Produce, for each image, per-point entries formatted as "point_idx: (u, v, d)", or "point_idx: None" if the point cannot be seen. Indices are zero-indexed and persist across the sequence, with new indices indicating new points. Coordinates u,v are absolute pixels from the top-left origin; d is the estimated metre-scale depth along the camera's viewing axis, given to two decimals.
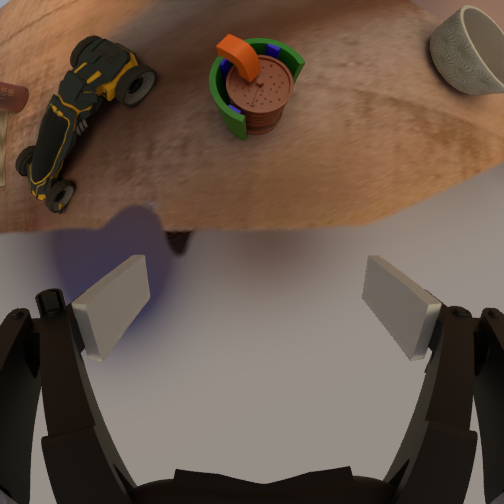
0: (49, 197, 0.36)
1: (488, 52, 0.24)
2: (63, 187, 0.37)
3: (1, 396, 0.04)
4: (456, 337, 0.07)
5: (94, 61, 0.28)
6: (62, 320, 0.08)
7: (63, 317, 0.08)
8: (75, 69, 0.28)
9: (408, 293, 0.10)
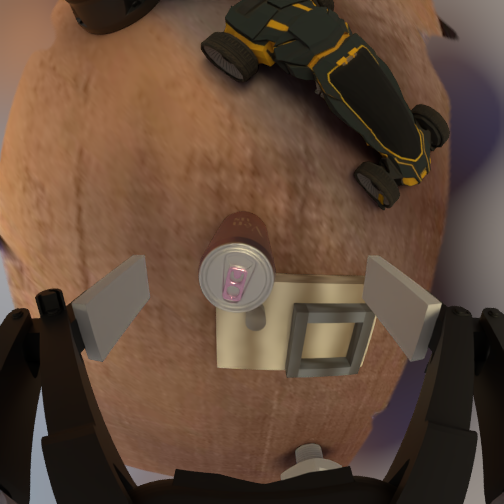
0: (440, 124, 0.24)
1: None
2: (425, 106, 0.25)
3: (1, 396, 0.04)
4: (456, 337, 0.07)
5: (274, 8, 0.19)
6: (62, 320, 0.08)
7: (63, 317, 0.08)
8: (279, 31, 0.20)
9: (408, 293, 0.10)
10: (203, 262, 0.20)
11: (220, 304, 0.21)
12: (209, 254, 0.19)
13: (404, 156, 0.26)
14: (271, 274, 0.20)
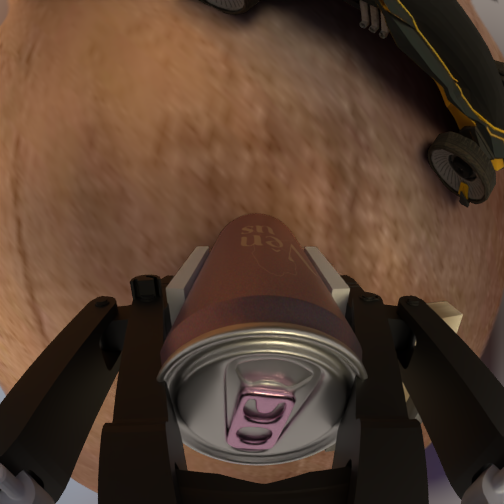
0: None
1: None
2: (498, 61, 0.11)
3: (62, 388, 0.05)
4: (369, 324, 0.08)
5: None
6: (156, 307, 0.09)
7: (157, 304, 0.09)
8: None
9: (322, 279, 0.12)
10: (160, 380, 0.06)
11: (223, 453, 0.07)
12: (174, 362, 0.05)
13: (497, 125, 0.12)
14: None
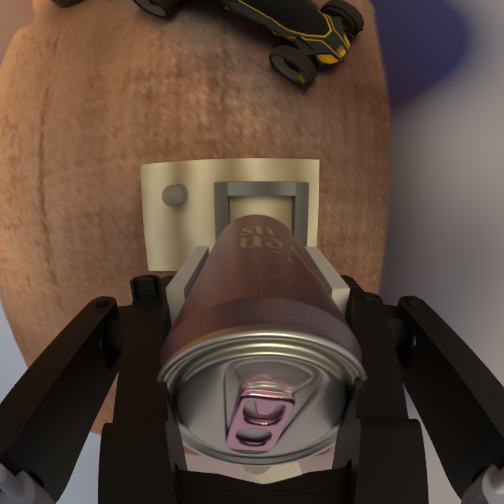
0: (347, 8, 0.22)
1: None
2: (332, 0, 0.23)
3: (63, 388, 0.05)
4: (369, 324, 0.08)
5: None
6: (156, 307, 0.09)
7: (157, 304, 0.09)
8: None
9: (322, 279, 0.12)
10: (159, 382, 0.06)
11: (222, 454, 0.07)
12: (173, 364, 0.05)
13: (310, 33, 0.24)
14: None
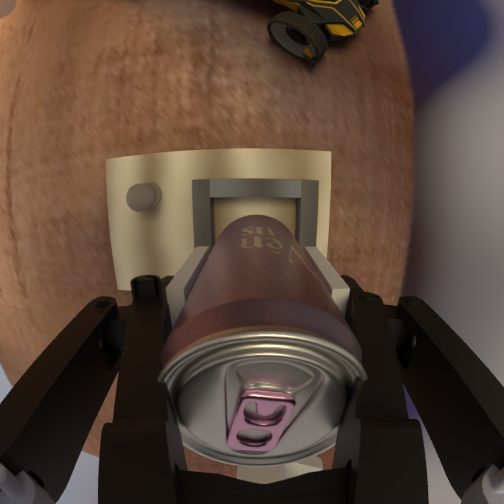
0: None
1: None
2: None
3: (63, 388, 0.05)
4: (369, 324, 0.08)
5: None
6: (156, 307, 0.09)
7: (158, 304, 0.09)
8: None
9: (322, 279, 0.12)
10: None
11: (223, 454, 0.07)
12: (174, 365, 0.05)
13: None
14: None
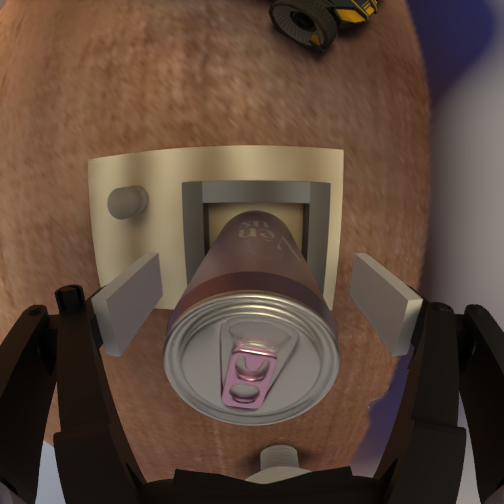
0: None
1: None
2: None
3: (13, 393, 0.04)
4: (438, 333, 0.07)
5: None
6: (81, 316, 0.08)
7: (82, 313, 0.08)
8: None
9: (390, 289, 0.11)
10: (168, 339, 0.07)
11: (218, 412, 0.09)
12: (180, 322, 0.07)
13: None
14: (334, 358, 0.08)
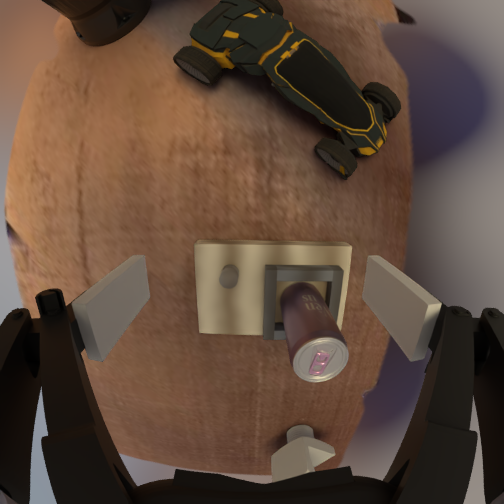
0: (389, 95, 0.29)
1: None
2: (374, 82, 0.30)
3: (1, 396, 0.04)
4: (456, 337, 0.07)
5: (228, 20, 0.25)
6: (62, 320, 0.08)
7: (63, 317, 0.08)
8: (232, 38, 0.25)
9: (408, 293, 0.10)
10: (298, 352, 0.24)
11: (306, 377, 0.25)
12: (303, 346, 0.24)
13: (355, 127, 0.30)
14: (347, 355, 0.24)
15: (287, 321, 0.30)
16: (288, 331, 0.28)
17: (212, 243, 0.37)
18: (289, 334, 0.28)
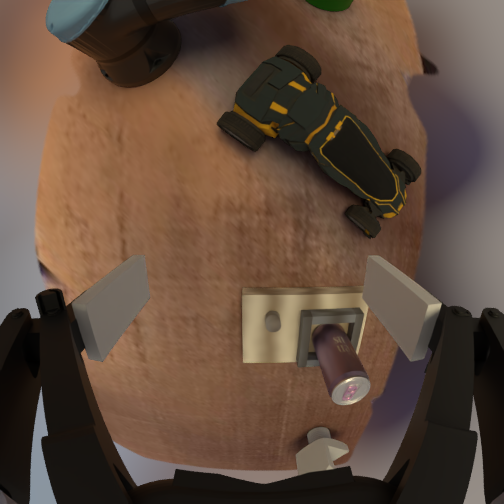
0: (412, 166, 0.35)
1: None
2: (400, 151, 0.36)
3: (1, 396, 0.04)
4: (456, 337, 0.07)
5: (274, 90, 0.31)
6: (62, 320, 0.08)
7: (63, 317, 0.08)
8: (280, 114, 0.31)
9: (408, 293, 0.10)
10: (336, 387, 0.31)
11: (340, 402, 0.32)
12: (340, 384, 0.31)
13: (382, 199, 0.37)
14: (369, 386, 0.31)
15: (323, 359, 0.37)
16: (325, 368, 0.35)
17: (257, 293, 0.44)
18: (326, 371, 0.35)
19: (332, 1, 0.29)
